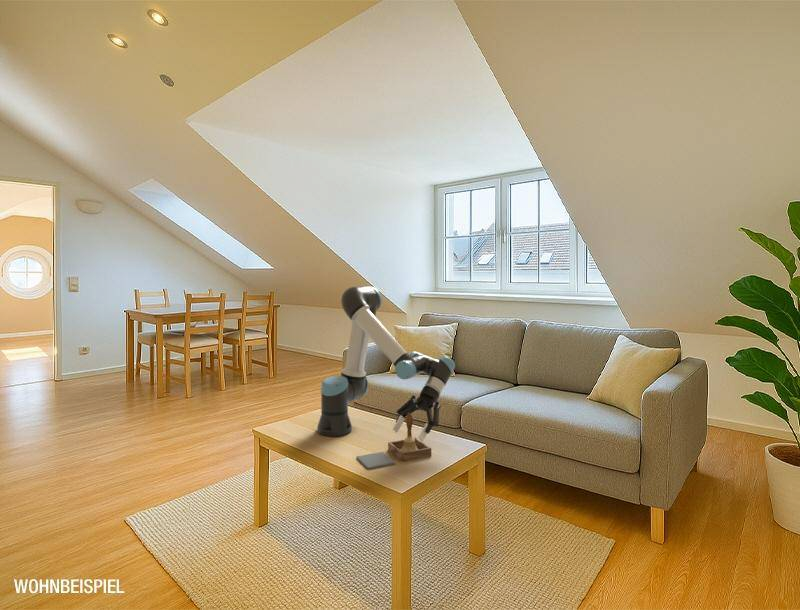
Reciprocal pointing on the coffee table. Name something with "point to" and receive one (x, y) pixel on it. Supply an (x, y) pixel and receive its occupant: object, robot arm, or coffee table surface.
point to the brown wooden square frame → (404, 456)
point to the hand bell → (409, 436)
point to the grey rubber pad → (375, 460)
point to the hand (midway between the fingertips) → (407, 435)
